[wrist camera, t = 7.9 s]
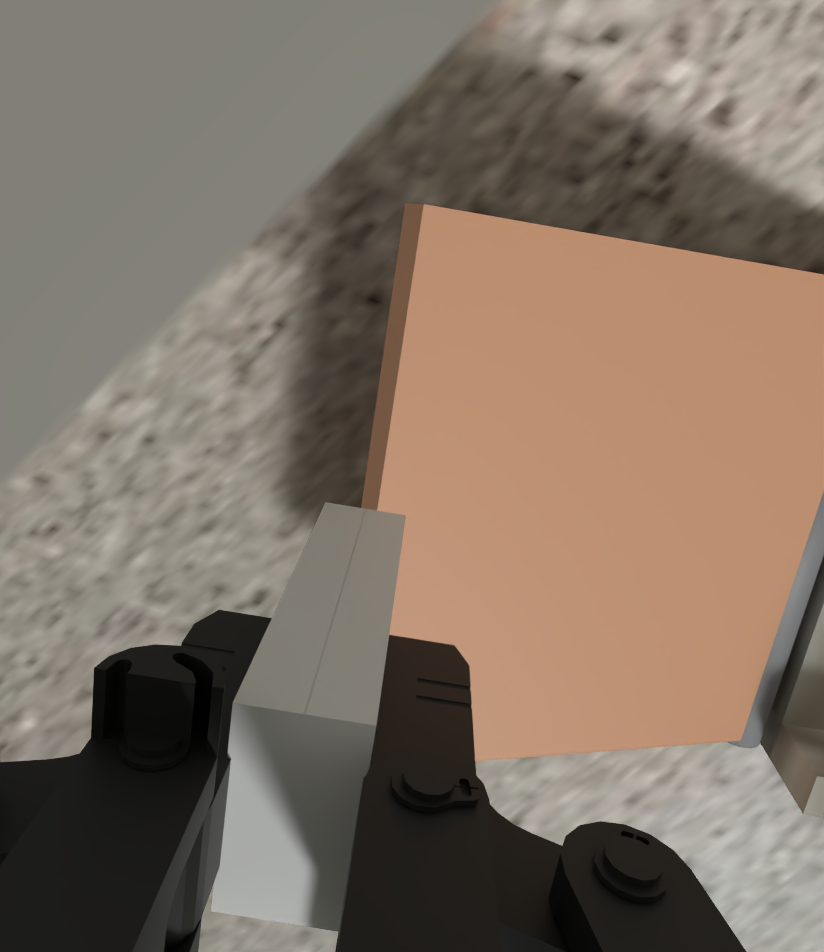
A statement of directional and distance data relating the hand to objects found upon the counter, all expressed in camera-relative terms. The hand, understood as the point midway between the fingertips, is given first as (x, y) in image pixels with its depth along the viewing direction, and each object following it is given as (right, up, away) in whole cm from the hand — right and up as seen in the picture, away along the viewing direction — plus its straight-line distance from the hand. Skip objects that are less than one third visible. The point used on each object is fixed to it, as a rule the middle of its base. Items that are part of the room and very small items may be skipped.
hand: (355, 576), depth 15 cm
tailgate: (+12, +1, +7) cm, 13 cm away
